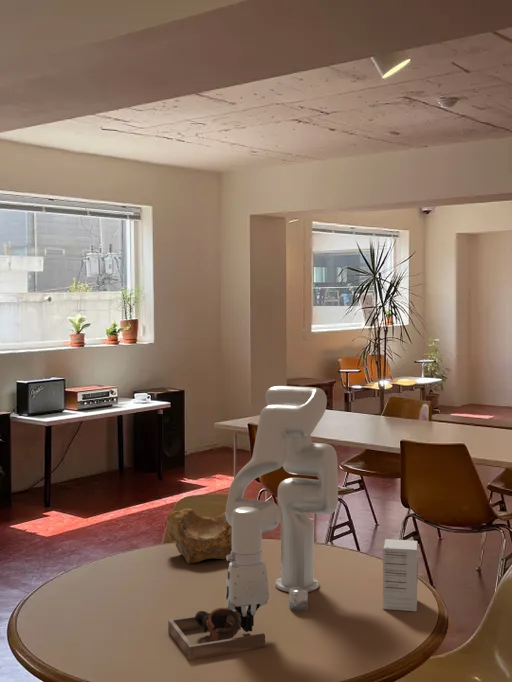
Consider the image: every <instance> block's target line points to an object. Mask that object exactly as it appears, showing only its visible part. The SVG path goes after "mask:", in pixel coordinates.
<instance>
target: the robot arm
mask: <svg viewBox="0 0 512 682" xmlns="http://www.w3.org/2000/svg"><path fill="white" fill-rule="evenodd" d="M265 402H266V406H264V407H263V408H262V410H261V411H260V414H259V417H258V419H259V420H258V423H257V430H256V435H255V440H254V441H255V442H254V445H253V450H252V451H253V452H252V456H251V459H250V460H249V462H247V463H246V464H245V465H244V466H242V468H241V469H240V470H239V471H238V472H237V474H236V475H235V477H234V478H233V479H232V482H231V484H230V487H229V489H228V494H227V500H226V505H225V512H226V520H227V522H228V524H229V525H231V526H232V551H231V554H230V555H227V556H226V559H225V560H226V561H227V562H228V561H230V562H229V564H228V569H227V575H226V582H225V583H226V585H225V598H226V600H227V601H226V604H225V608H227V609H228V610H236V611H238V612H239V613H240V622H239V625H240V627H241V629H242V630H243V631H244V632H245V633H248V632H253V627H254V625H255V624H254V622H255V620H254V617H255V615H256V612H257V611H258V609H259V608H260V607H263V606H265V605H267V604H268V601H269V598H270V594H269V593H270V590H269V589H270V588H269V578H268V577H269V576H268V570H267V565H266V562H265V561H263V557H262V556H263V550H262V549H263V546H262V545H263V542H262V541H263V533H265V534H266V533H269V532H272V531H274V530H275V529H277V528H278V527H279V525H280V567H279V570H280V577H279V578H277V579H276V580H275V587H276V588H277V589H278V590H280V591H283V592H287V593H289V589H290V588H293V587H303V588H306V589H307V590H308V593H310V592H313V591H316V590H317V589H318V588H319V586H320V584H319V583H320V582H319V580H318V579H316V578H315V577H314V568H315V567H314V564H315V563H314V562H315V561H314V556H315V555H314V552H315V551H314V548H315V547H314V546H315V545H314V536H315V535H314V533H315V532H314V531H315V530H314V523H313V521H312V518H311V517H310V516H309V514H319V515H330V514H333V513H334V512H335V511H336V510H337V507H338V503H339V473H338V472H339V471H338V468H339V466H338V465H339V463H338V456H337V455H338V454H337V452H336V449H335V448H334V446H333V445H331V444H329V443H324V442H313V441H312V434H313V432H314V430H315V429H316V428H317V426H318V424H319V422H320V421H321V420H322V418H323V416H324V414H325V412H326V409H327V403H328V399H327V395H326V392H325V391H324V390H323V389H322V388H319V387H312V386H297V385H296V386H295V385H276V386H275V385H274V386H271V387H269V388H268V389H267V391H266V393H265ZM281 468H283V470H284V471H285V472H286V473H288V474H291V475H300V476H307V477H317V479H311V478H302V477H289V478H285V479H284V480H282V481H280V483H279V485H278V486H277V500H278V503H276V502H273V501H268V500H259V499H249V498H243V497H244V494H245V491H246V489H247V487H248V486H249V485H250V483H252V482H253V481H254V480H256V479H257V478H260V477H261V476H263V475H266V474H269V473H271V472H274V471H278V470H279V469H281ZM246 606H247V607H246Z"/></svg>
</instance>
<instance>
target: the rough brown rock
mask: <svg viewBox="0 0 512 682" xmlns="http://www.w3.org/2000/svg"><path fill="white" fill-rule="evenodd" d="M166 530H167V535H168V538H169V539H170V540H171V541H172V542H174V544H175V546H176V549H177V552H178V553H179V554H181V555H182V556H183V557H184V560H185V562H186V563H187V564H188V565H189V564H190V565H191V564H194V563H200V562H202V561H204V560H208V559H218V560H227V559H226V556H227V555H230V554H231V551H232V526H231V525H229V524H228V522H227V520H226V511H225V512H223V513H222V514H220V515H218V516H214V517H210V516H202V515H199V514H198V513H196V512H195V511H194V509H192V508H190V507H189V508H188V507H187V508H183V509H181V510H175V511H171V512H170V513H169V514H168V515H167V518H166Z"/></svg>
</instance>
